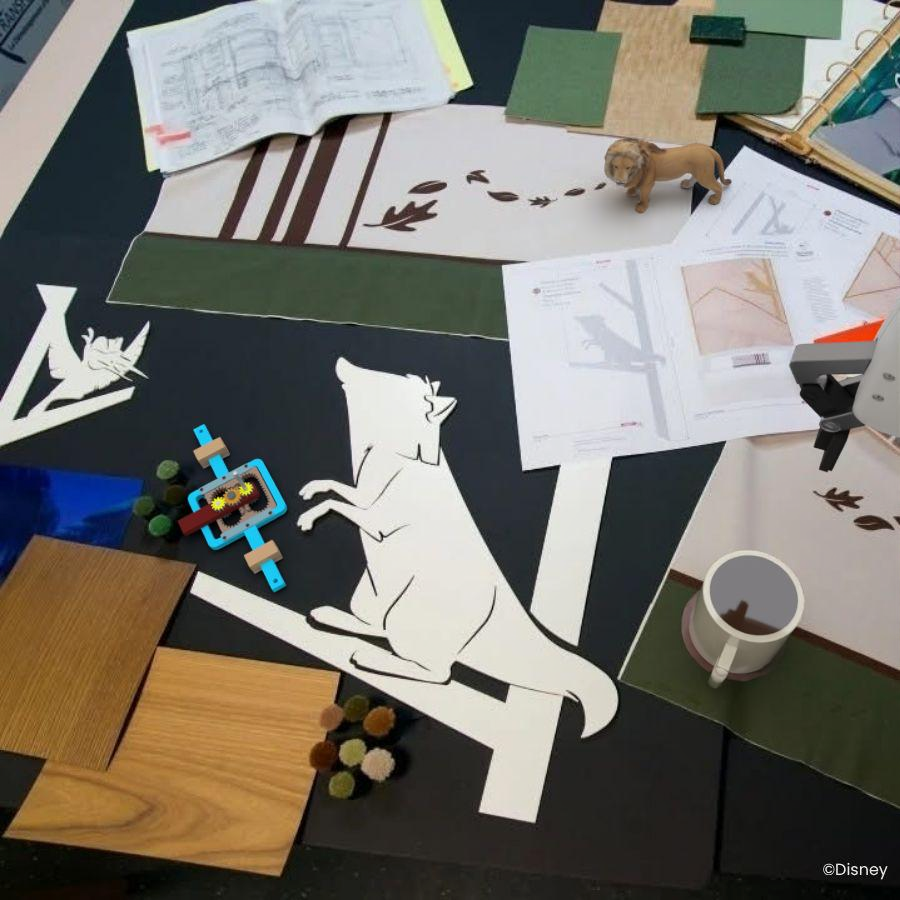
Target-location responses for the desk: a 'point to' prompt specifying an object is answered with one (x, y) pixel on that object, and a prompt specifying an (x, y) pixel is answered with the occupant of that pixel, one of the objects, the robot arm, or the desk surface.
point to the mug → (744, 612)
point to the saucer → (698, 652)
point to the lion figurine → (662, 167)
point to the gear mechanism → (235, 506)
